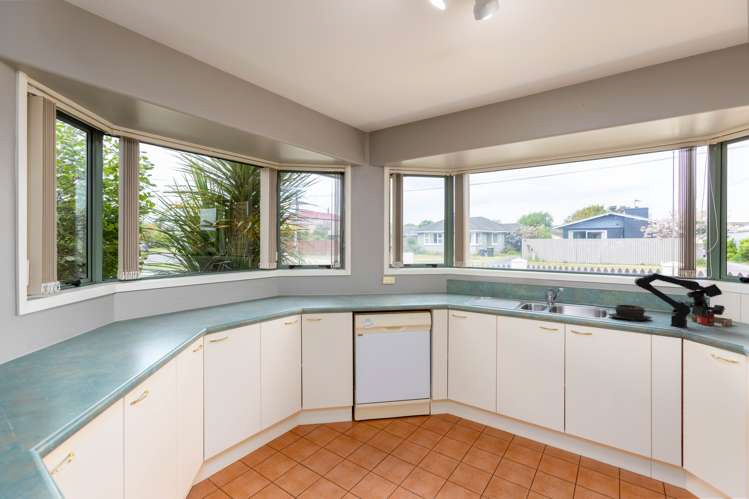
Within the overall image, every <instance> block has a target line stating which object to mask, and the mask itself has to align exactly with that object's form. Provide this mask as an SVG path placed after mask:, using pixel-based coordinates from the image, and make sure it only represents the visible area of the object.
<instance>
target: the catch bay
mask: <svg viewBox="0 0 749 499" xmlns="http://www.w3.org/2000/svg"><path fill="white" fill-rule="evenodd" d="M691 322H693V323H694V322H697V316H694V315H692V316H691ZM714 323H717V324H721V327H722V328H724V327H729V326H732V325H733V320H732V318H727V317H720V316H718V317H717V316H714Z"/></svg>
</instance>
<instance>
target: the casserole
mask: <svg viewBox="0 0 749 499" xmlns="http://www.w3.org/2000/svg"><path fill="white" fill-rule="evenodd" d="M614 310H615V312H613V313H612V312H611V313H608V316H609V317H613V318H618V319H622V320H626V321H636V322H637V321H642V320H648V319H652V318H653V317H652V316H649V315H646V314H645V313H646V310H645V308H644V307H643V306H639V305H633V304H617V305H616V306H615V307H614Z"/></svg>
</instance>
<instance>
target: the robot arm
mask: <svg viewBox="0 0 749 499" xmlns="http://www.w3.org/2000/svg"><path fill="white" fill-rule="evenodd" d="M654 281H661V282H664V283H669V284H672V285H673V284H674V285H678V286H680V287H683V288H685V289H688V290H690V291H688V292H687V293H686V296H687V297H688V298H689V299H692V301H684V302H683V301H682V300H678V301H676V300H674V299H673V298H672V297H670V296H668V295H666V294H665V293H664V292H662V291H660V290H659V289H657V288H656V287H655V286H653V285H652V284H651V283H652V282H654ZM634 285H636V286H637V287H639V288H641V289H643V290H645V291H648V292H649V293H651V294H652V295H654V296H656V297H657V298H659V299H660V300H662V302H663V301H664V302H665V303H666V304H667V305H670V306H671V307H672V308H673V309H672V310H671V311H670V313H671V315H670V316H671V317H670V318H671V319H670V320H671V321H670V322H671V323H670V324H669V326H671V327H676V328H681V329H682V328H687V327H688V319H687V316H688V315H690V314H692V316H699V317H703V316H704V317H705V318H707V317H708V314H710V313H711V311H712V312H713V314H715V315H716V316H722V315H723V314H724V312H725V309H726V308H725V306H724V305H723V304H722V305H720V304H714V306H712V305H710V303H709V302H708V301H707V300H708V297H709V298H710V299H711V298H714V297H718V296H721V295H723V292H722V290H721V289H720V288H719V287H718V286H717V284H716V283H713V284H709V285H707V286H702V285H700V283H699V282H698V281H695V280H692V279H691V280H689V279H680V278H676V277H671V276H668V275H664V274H659V273H657V272H652V273H651V274H648V275H645V276H642V277H637V278H635V279H634ZM691 308H692V309H691Z"/></svg>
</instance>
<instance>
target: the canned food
mask: <svg viewBox="0 0 749 499" xmlns="http://www.w3.org/2000/svg"><path fill="white" fill-rule="evenodd" d="M715 315H716V314H713V312H712V311H711V313H710V314H708V317H707V318H705V317H704V316H703V317H699V316H697V321H696V323H697V324H698V325H700V324H701V326H706V325H708V327H709V326H711V327H712V326H715V322H714V317H715Z"/></svg>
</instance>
